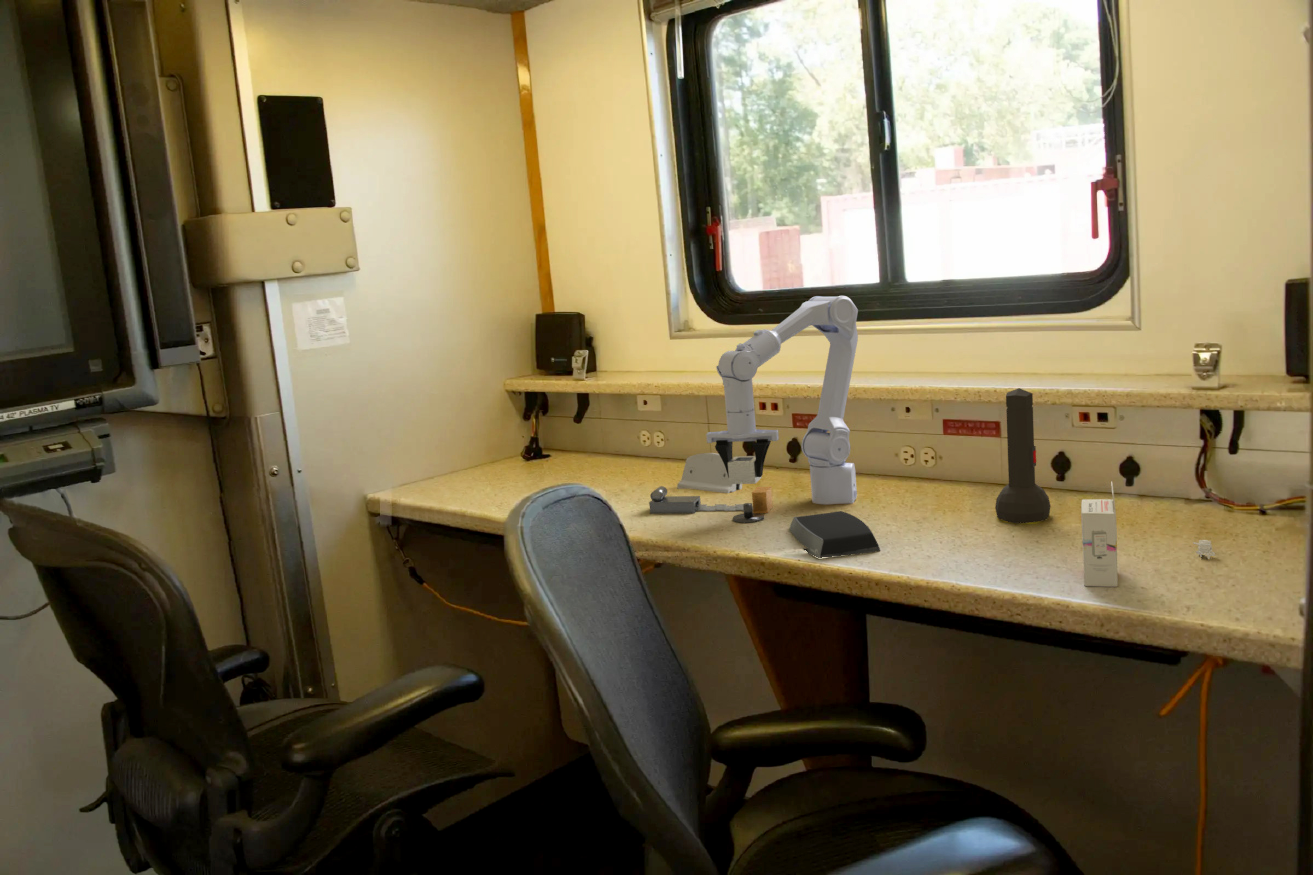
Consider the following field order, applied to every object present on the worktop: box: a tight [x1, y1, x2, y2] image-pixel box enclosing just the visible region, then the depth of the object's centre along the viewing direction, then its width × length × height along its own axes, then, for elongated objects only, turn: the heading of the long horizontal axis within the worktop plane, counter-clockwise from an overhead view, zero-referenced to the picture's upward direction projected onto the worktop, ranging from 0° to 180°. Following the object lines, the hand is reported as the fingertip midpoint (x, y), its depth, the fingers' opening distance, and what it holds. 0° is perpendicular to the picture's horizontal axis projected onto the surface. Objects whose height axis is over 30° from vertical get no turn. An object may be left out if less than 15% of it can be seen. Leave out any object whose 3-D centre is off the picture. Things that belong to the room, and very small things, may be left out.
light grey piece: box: [676, 452, 743, 494], centre depth 243 cm, size 17×5×10 cm, turn 46°
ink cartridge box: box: [1080, 480, 1118, 588], centre depth 160 cm, size 9×5×15 cm, turn 158°
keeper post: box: [732, 502, 765, 524], centre depth 212 cm, size 6×6×3 cm
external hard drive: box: [789, 510, 881, 558], centre depth 194 cm, size 13×19×4 cm
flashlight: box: [994, 387, 1052, 524], centre depth 196 cm, size 10×25×10 cm
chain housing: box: [648, 485, 702, 515], centre depth 224 cm, size 10×5×5 cm, turn 71°
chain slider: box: [695, 486, 774, 514], centre depth 220 cm, size 18×5×4 cm, turn 71°
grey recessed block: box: [728, 455, 763, 485], centre depth 210 cm, size 5×5×4 cm
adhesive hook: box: [1192, 539, 1216, 560], centre depth 166 cm, size 3×3×3 cm
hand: (745, 476), depth 211 cm, fingers closed on grey recessed block, 5 cm apart
